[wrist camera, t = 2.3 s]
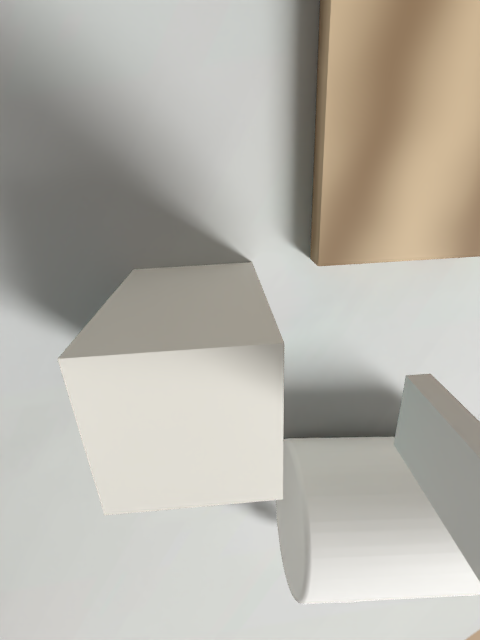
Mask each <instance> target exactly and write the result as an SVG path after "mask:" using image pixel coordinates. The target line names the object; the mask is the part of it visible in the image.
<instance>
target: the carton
mask: <svg viewBox="0 0 480 640" xmlns="http://www.w3.org/2000/svg"><path fill="white" fill-rule="evenodd" d="M58 362H59V366H60V369H61V372H62V376H63V379H64V382H65V386H66V389H67V392H68V396H69V399H70V402H71V406H72V409H73V412H74V416H75V419H76V422H77V426H78V429H79V432H80V436H81V439H82V442H83V446H84V449H85V452H86V456H87V459H88V462H89V466H90V469H91V472H92V476H93V479H94V482H95V486H96V489H97V492H98V496H99V499H100V502H101V506H102V509H103V512H104V515H114V514H125V513H137V512H148V511H159V510H170V509H181V508H192V507H204V506H215V505H226V504H237V503H248V502H259V501H271V500H282V499H283V424H284V341H283V339H282V336H281V334H280V331H279V329H278V326H277V324H276V321H275V319H274V316H273V314H272V311H271V309H270V306H269V304H268V301H267V299H266V296H265V294H264V291H263V289H262V286H261V284H260V281H259V279H258V276H257V273H256V271H255V268H254V266H253V263H252V262H245V263H229V264H212V265H196V266H179V267H163V268H146V269H133V270H132V272H131V273H130V274H129V275H128V276H127V277H126V279H125V280H124V281H123V282H122V283H121V285H120V286H119V287H118V288H117V289H116V290H115V292H114V293H113V294H112V295H111V296H110V298H109V299H108V300H107V301H106V302H105V303H104V305H103V306H102V307H101V308H100V309H99V311H98V312H97V313H96V314H95V315H94V316H93V318H92V319H91V320H90V321H89V322H88V324H87V325H86V326H85V327H84V328H83V329H82V331H81V332H80V333H79V334H78V335H77V336H76V338H75V339H74V340H73V341H72V342H71V344H70V345H69V346H68V347H67V348H66V349H65V351H64V352H63V353H62V354H61V355H60V357H59V358H58Z"/></svg>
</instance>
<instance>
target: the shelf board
mask: <svg viewBox="0 0 480 640" xmlns="http://www.w3.org/2000/svg"><path fill="white" fill-rule="evenodd" d="M476 256H480V0H320V16H319V42H318V69H317V95H316V121H315V147H314V174H313V200H312V226H311V252H310V259H311V260H312V261H313V262H314V263H315V264H316V265H317V266H330V265H346V264H363V263H379V262H395V261H411V260H428V259H444V258H460V257H476Z"/></svg>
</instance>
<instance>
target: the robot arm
mask: <svg viewBox="0 0 480 640" xmlns="http://www.w3.org/2000/svg"><path fill="white" fill-rule="evenodd" d="M394 446H395V447H396V449H397V451H398V452H399V454H400V455H401V457H402V459H403V460H404V462H405V463H406V465H407V467H408V468H409V470H410V471H411V473H412V475H413V476H414V478H415V479H416V481H417V483H418V484H419V486H420V487H421V489H422V491H423V492H424V494H425V495H426V497H427V499H428V500H429V502H430V503H431V505H432V507H433V508H434V510H435V511H436V513H437V515H438V516H439V518H440V519H441V521H442V522H443V524H444V526H445V527H446V529H447V530H448V532H449V534H450V535H451V537H452V538H453V540H454V542H455V543H456V545H457V546H458V548H459V550H460V551H461V553H462V554H463V556H464V558H465V559H466V561H467V562H468V564H469V566H470V567H471V569H472V570H473V572H474V574H475V575H476V577H477V578H478V580H479V582H480V422H479V421H478V420H477V419H476V418H475V417H474V416H473V415H472V414H471V413H470V412H469V411H468V410H467V409H466V408H465V407H464V406H463V405H462V404H461V403H460V402H459V401H458V400H457V399H456V398H455V397H454V396H453V395H452V394H451V393H450V392H449V391H448V390H447V389H446V388H445V387H444V386H442V385H441V384H440V383H439V382H438V381H437V380H436V379H435V378H434V377H433V376H432V375H431V374H422V375H407V376H406V378H405V384H404V390H403V395H402V401H401V406H400V412H399V417H398V423H397V428H396V434H395V439H394Z"/></svg>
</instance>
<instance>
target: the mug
mask: <svg viewBox="0 0 480 640" xmlns="http://www.w3.org/2000/svg"><path fill="white" fill-rule="evenodd" d="M394 439H395V437H343V438H287V439H284V440H283V499H282V500H276V514H277V526H278V535H279V543H280V550H281V556H282V562H283V567H284V571H285V575H286V579H287V583H288V586H289V589H290V591H291V593H292V595H293V597H294V599H295V600H296V601H297V602H298V603H300V604H316V603H335V602H342V603H351V602H358V601H373V600H392V599H411V598H430V597H449V596H468V595H480V582H479V580H478V578H477V577H476V575H475V574H474V572H473V570H472V569H471V567H470V566H469V564H468V562H467V561H466V559H465V558H464V556H463V554H462V553H461V551H460V550H459V548H458V546H457V545H456V543H455V542H454V540H453V538H452V537H451V535H450V534H449V532H448V530H447V529H446V527H445V526H444V524H443V522H442V521H441V519H440V518H439V516H438V515H437V513H436V511H435V510H434V508H433V507H432V505H431V503H430V502H429V500H428V499H427V497H426V495H425V494H424V492H423V491H422V489H421V487H420V486H419V484H418V483H417V481H416V479H415V478H414V476H413V475H412V473H411V471H410V470H409V468H408V467H407V465H406V463H405V462H404V460H403V459H402V457H401V455H400V454H399V452H398V451H397V449H396V447H395V446H394Z"/></svg>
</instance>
